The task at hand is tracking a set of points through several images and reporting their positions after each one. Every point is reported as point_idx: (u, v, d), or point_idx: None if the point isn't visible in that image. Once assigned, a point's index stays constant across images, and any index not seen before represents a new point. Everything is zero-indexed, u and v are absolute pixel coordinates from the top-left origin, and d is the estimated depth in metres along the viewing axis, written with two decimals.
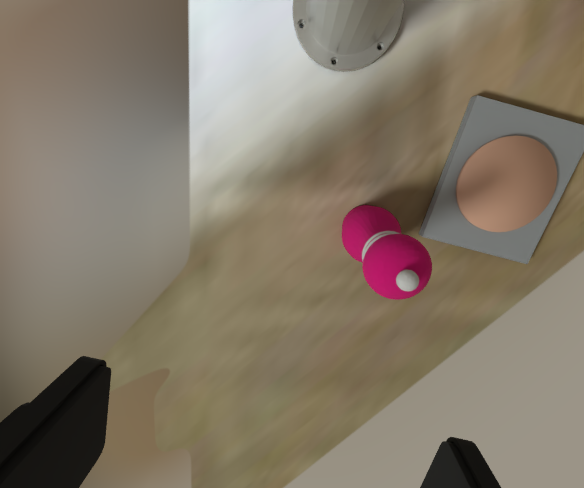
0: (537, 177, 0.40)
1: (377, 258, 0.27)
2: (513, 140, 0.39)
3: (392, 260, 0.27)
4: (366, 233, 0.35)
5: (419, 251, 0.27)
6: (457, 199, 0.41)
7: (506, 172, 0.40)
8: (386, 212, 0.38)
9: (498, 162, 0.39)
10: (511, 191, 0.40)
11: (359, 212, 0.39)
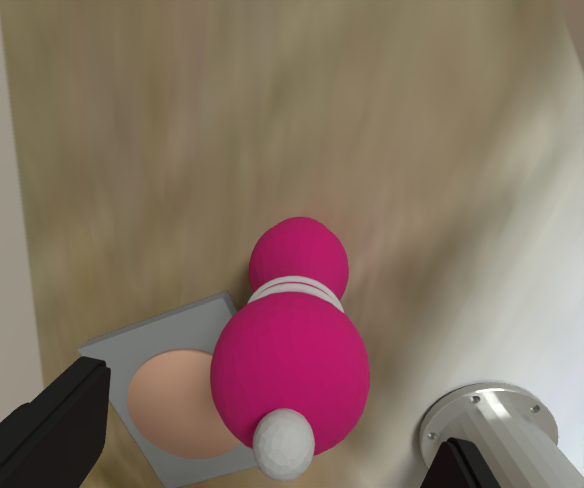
0: (169, 433, 0.31)
1: (361, 395, 0.11)
2: (227, 446, 0.31)
3: (337, 428, 0.10)
4: None
5: None
6: None
7: (203, 418, 0.30)
8: None
9: (221, 421, 0.30)
10: (179, 406, 0.30)
11: None
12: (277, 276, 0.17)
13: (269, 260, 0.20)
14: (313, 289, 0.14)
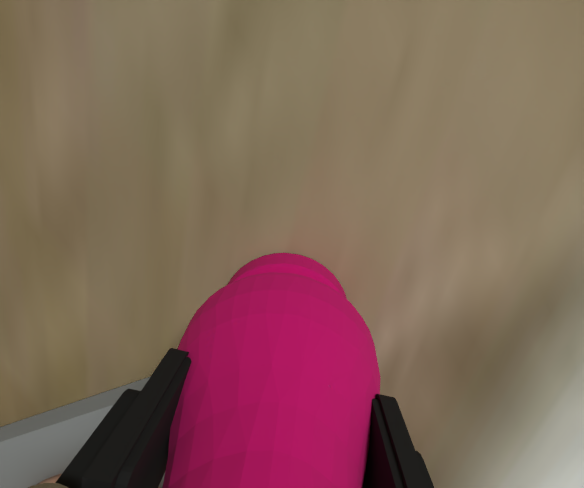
0: None
1: None
2: None
3: None
4: None
5: None
6: None
7: None
8: None
9: None
10: None
11: None
12: None
13: (195, 398, 0.08)
14: None
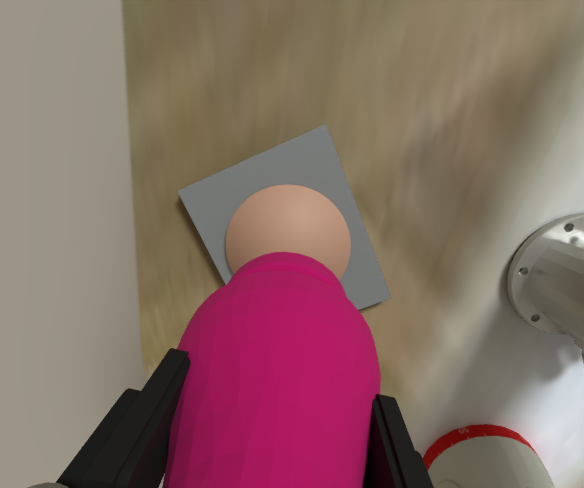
0: None
1: None
2: None
3: None
4: None
5: None
6: (324, 196, 0.29)
7: None
8: None
9: None
10: (277, 246, 0.30)
11: None
12: None
13: (196, 397, 0.08)
14: None
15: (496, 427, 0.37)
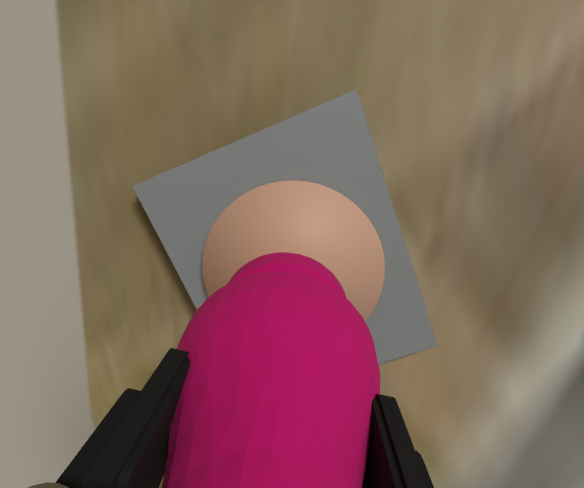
0: None
1: None
2: None
3: None
4: None
5: None
6: (349, 199, 0.20)
7: None
8: None
9: None
10: None
11: None
12: None
13: (195, 398, 0.08)
14: None
15: None
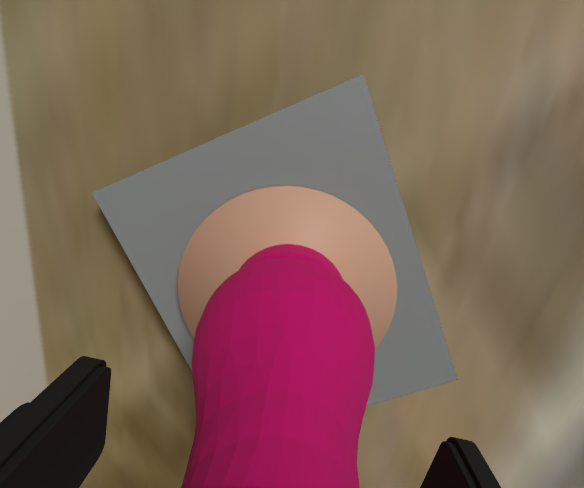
0: None
1: None
2: None
3: None
4: (356, 461, 0.08)
5: None
6: (354, 208, 0.16)
7: None
8: None
9: None
10: None
11: None
12: (226, 432, 0.07)
13: (220, 358, 0.09)
14: None
15: None
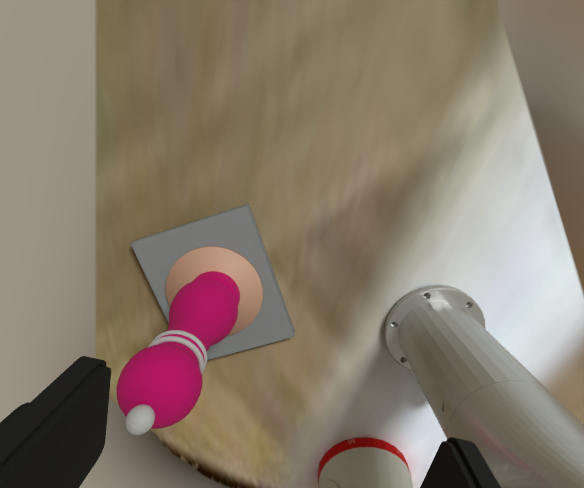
0: None
1: (186, 399, 0.23)
2: (240, 326, 0.41)
3: (171, 414, 0.22)
4: (212, 340, 0.30)
5: (155, 428, 0.23)
6: (243, 257, 0.38)
7: None
8: None
9: None
10: None
11: (232, 328, 0.35)
12: (174, 325, 0.29)
13: (176, 311, 0.31)
14: (183, 340, 0.26)
15: (376, 441, 0.47)
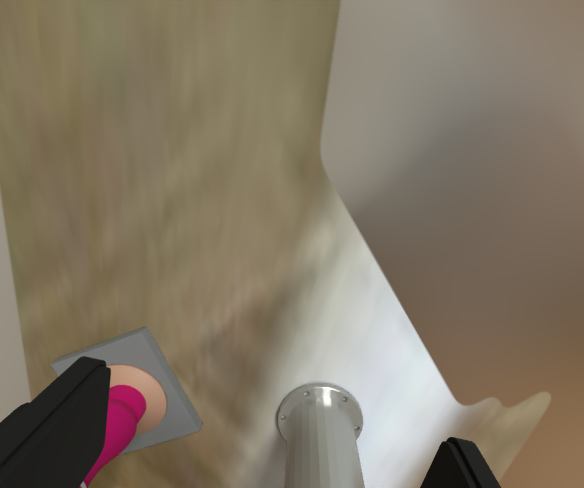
0: None
1: None
2: (151, 426, 0.47)
3: None
4: (100, 464, 0.37)
5: None
6: (145, 372, 0.45)
7: None
8: None
9: None
10: None
11: (129, 441, 0.41)
12: None
13: None
14: None
15: None
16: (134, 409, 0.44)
